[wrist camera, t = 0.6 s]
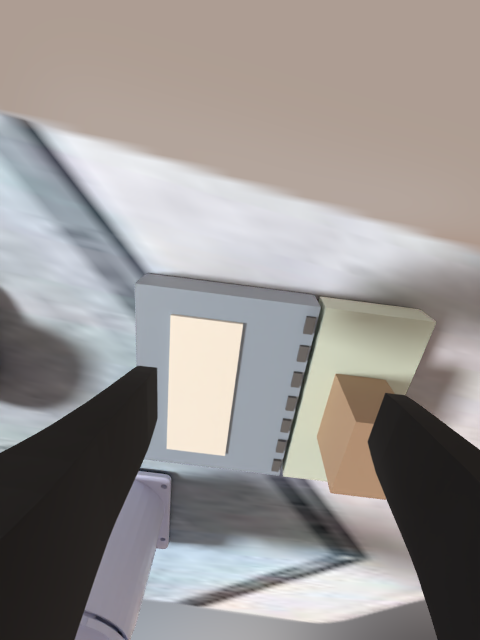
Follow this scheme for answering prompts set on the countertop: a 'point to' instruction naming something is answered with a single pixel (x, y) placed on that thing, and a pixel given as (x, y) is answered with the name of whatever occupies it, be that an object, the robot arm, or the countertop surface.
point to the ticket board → (223, 369)
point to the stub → (351, 390)
